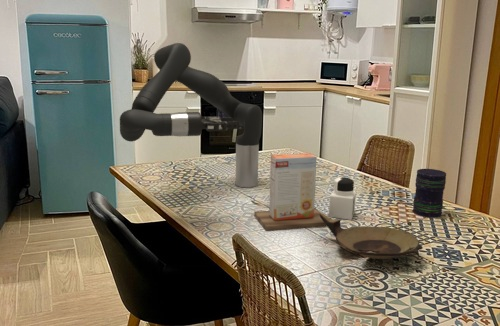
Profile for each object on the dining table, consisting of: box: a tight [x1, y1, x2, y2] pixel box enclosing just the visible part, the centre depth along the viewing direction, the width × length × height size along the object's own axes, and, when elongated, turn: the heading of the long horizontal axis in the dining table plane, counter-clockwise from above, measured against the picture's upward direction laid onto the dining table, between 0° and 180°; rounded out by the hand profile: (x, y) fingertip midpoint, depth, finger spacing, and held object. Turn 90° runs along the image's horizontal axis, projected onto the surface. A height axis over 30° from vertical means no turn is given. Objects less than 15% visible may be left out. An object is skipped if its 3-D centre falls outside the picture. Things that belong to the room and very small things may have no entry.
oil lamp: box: [320, 212, 424, 260], centre depth 144 cm, size 22×30×8 cm
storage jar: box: [412, 168, 447, 219], centre depth 175 cm, size 10×10×15 cm
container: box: [328, 176, 357, 221], centre depth 171 cm, size 8×8×13 cm
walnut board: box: [253, 207, 327, 232], centre depth 166 cm, size 14×22×2 cm, turn 105°
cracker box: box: [268, 152, 317, 221], centre depth 163 cm, size 14×6×21 cm, turn 105°
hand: (235, 123), depth 161 cm, fingers open, 8 cm apart
